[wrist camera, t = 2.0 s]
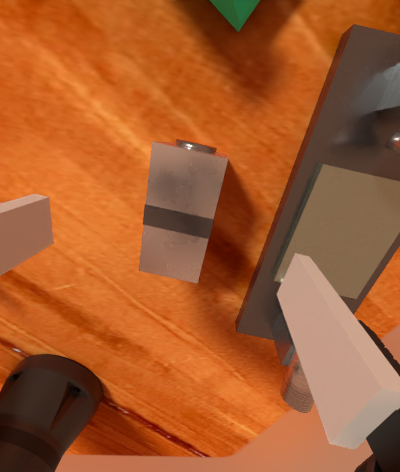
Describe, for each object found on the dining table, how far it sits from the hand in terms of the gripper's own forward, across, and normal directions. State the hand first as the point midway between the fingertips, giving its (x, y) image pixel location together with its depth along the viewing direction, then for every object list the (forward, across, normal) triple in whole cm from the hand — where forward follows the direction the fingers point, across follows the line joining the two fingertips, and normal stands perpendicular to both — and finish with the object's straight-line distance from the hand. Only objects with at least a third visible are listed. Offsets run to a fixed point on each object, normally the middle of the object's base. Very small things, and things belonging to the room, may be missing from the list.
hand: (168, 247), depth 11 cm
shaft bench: (+12, -15, 0) cm, 19 cm away
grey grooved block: (+12, 0, 0) cm, 12 cm away
